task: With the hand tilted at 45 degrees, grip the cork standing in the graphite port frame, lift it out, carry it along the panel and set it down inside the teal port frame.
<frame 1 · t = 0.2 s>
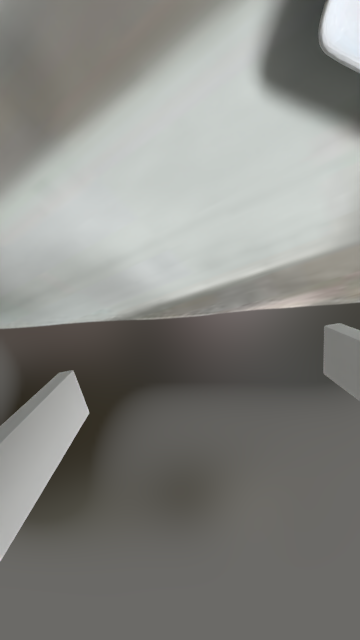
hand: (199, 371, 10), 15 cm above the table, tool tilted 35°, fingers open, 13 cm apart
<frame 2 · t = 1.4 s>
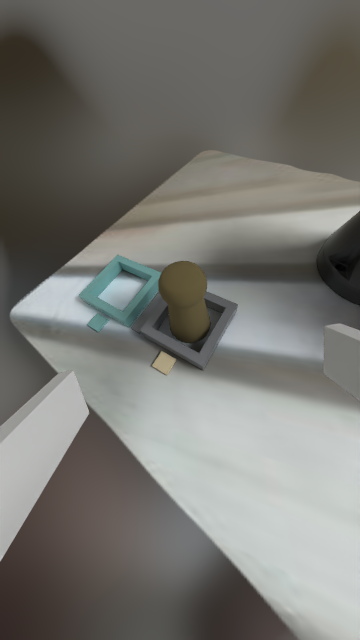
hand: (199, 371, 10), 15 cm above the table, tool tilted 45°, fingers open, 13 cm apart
cork: (190, 324, 29), resting in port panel
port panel: (155, 306, 31), on the table
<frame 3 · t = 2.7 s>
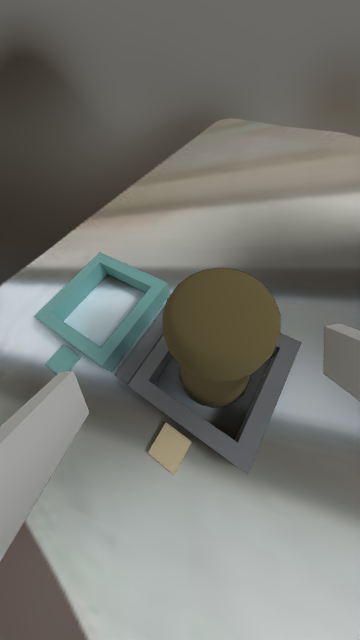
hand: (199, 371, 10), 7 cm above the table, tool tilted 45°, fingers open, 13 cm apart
cork: (213, 370, 17), resting in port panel
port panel: (155, 336, 19), on the table
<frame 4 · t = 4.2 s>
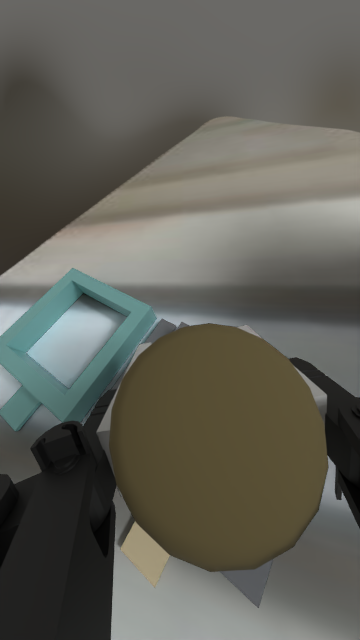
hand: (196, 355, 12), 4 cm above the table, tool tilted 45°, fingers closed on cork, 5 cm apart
cork: (208, 422, 14), resting in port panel, touching gripper
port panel: (136, 374, 16), on the table
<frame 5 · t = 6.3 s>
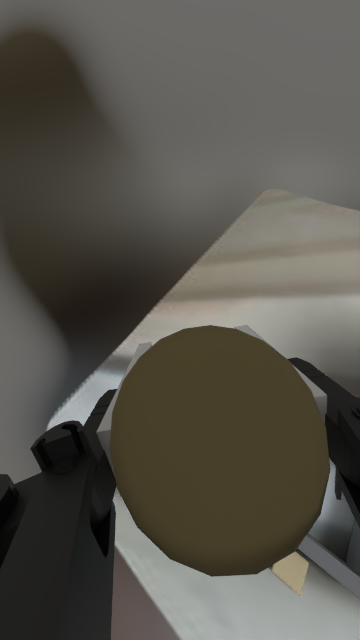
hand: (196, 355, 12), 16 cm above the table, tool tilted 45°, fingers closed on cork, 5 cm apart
cork: (208, 423, 14), point 12 cm above the table, touching gripper
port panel: (252, 444, 22), on the table
when the fingers open (5 cm above the table, at t = 8.7 s): cork drops 1 cm, resting in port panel.
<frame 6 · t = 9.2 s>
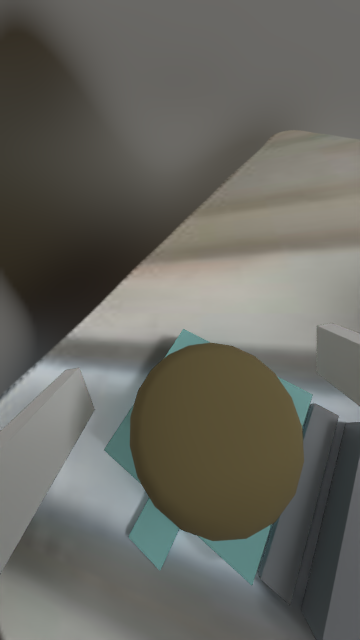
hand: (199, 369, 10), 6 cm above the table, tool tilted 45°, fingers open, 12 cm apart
cork: (209, 424, 15), resting in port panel
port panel: (300, 484, 12), on the table
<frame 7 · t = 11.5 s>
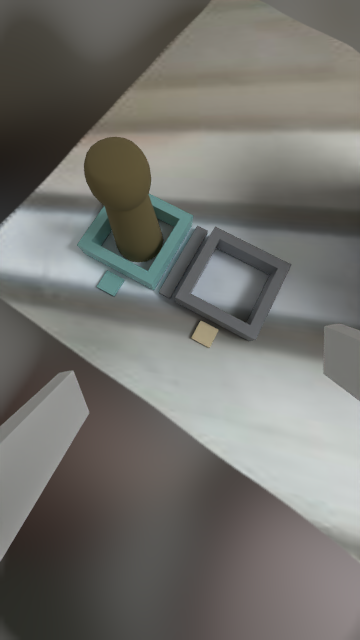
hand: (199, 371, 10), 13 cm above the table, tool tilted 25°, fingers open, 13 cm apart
cork: (140, 241, 25), resting in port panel
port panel: (183, 262, 25), on the table
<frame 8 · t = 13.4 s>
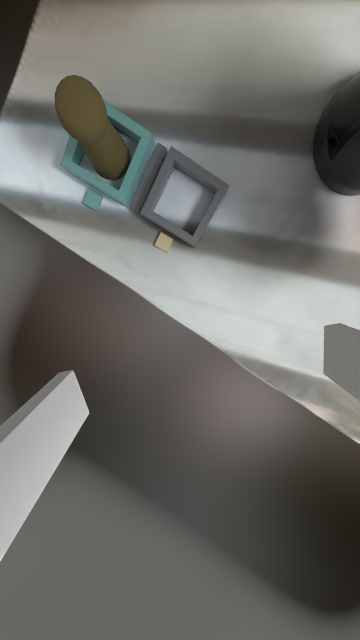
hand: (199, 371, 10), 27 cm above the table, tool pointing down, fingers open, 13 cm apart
cork: (111, 158, 30), resting in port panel
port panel: (148, 180, 31), on the table
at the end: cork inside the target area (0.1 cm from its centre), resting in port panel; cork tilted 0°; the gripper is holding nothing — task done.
